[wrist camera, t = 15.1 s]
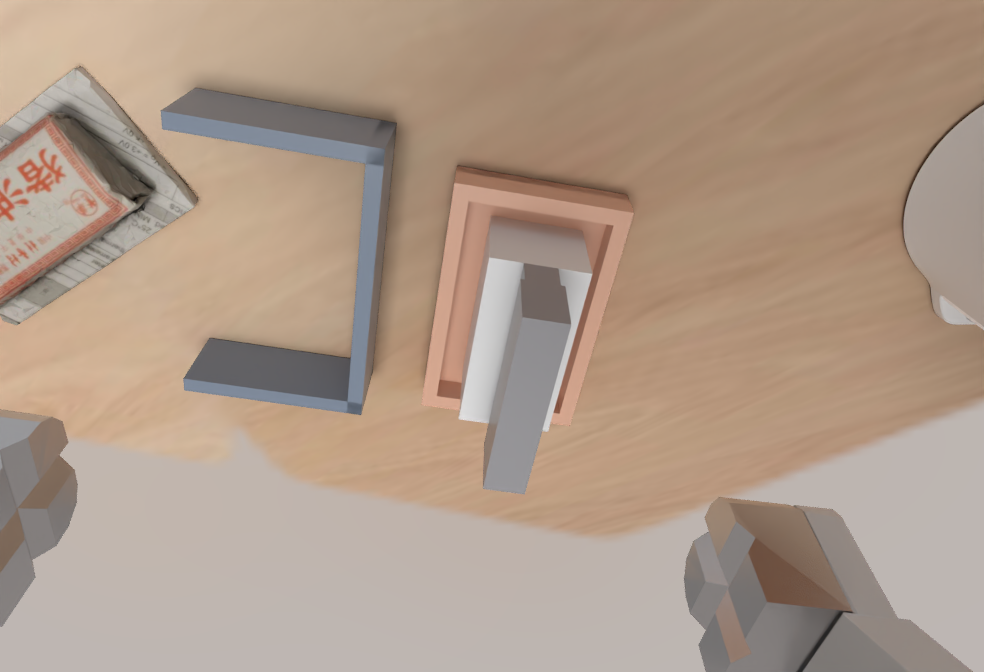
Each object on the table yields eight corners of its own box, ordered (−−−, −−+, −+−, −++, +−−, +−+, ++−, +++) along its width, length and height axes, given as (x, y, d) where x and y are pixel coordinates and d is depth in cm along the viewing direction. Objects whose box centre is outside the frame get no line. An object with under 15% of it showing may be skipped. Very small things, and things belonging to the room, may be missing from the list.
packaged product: (-17, 356, 47) (-157, 240, 42) (25, 318, 51) (-99, 208, 46) (176, 228, 42) (40, 80, 37) (205, 197, 46) (86, 60, 41)
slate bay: (396, 123, 42) (385, 149, 38) (372, 372, 53) (361, 414, 48) (195, 88, 41) (160, 110, 37) (210, 349, 52) (184, 390, 47)
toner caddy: (582, 230, 45) (605, 330, 35) (543, 378, 52) (553, 498, 41) (490, 215, 45) (487, 311, 34) (462, 366, 51) (453, 484, 41)
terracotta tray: (626, 194, 45) (634, 213, 42) (566, 400, 54) (569, 425, 51) (457, 165, 44) (454, 182, 41) (425, 380, 53) (421, 405, 50)
